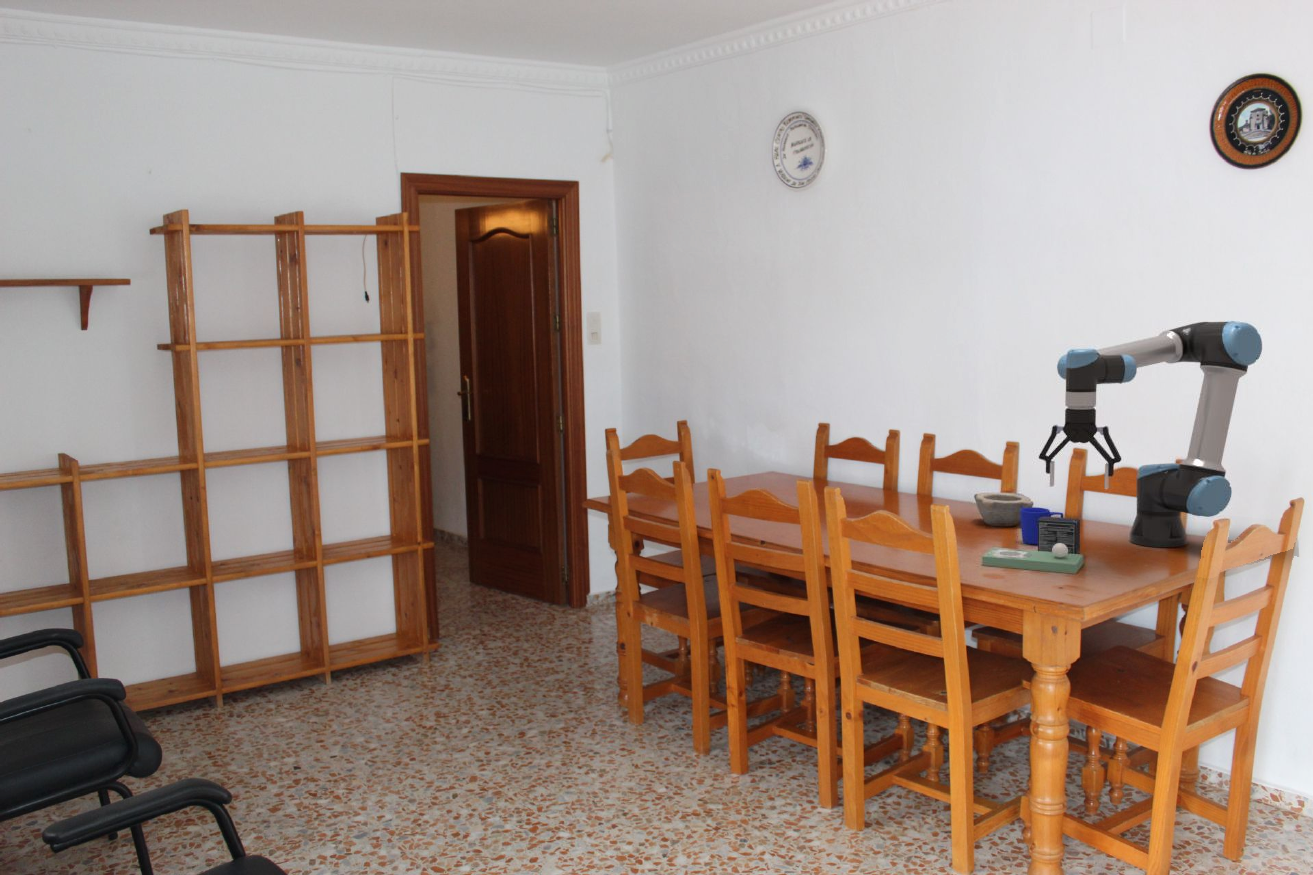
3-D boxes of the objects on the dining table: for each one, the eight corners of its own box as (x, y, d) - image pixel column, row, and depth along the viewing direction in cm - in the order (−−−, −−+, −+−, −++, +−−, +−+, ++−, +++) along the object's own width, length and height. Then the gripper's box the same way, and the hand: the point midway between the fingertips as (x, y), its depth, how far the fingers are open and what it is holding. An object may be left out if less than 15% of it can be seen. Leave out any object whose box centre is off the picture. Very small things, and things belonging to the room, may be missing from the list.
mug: (1065, 546, 306) (1065, 512, 304) (1021, 545, 308) (1022, 512, 307) (1060, 540, 314) (1060, 507, 312) (1018, 539, 316) (1018, 507, 315)
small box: (1080, 554, 295) (1081, 517, 294) (1076, 559, 290) (1077, 522, 289) (1041, 551, 301) (1041, 515, 300) (1036, 556, 295) (1037, 519, 294)
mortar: (1035, 529, 330) (1036, 500, 329) (980, 529, 332) (980, 500, 331) (1024, 519, 346) (1024, 491, 345) (971, 519, 349) (971, 491, 348)
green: (1083, 563, 285) (1083, 554, 284) (1075, 573, 274) (1075, 564, 274) (992, 555, 297) (992, 547, 297) (982, 565, 287) (982, 556, 286)
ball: (1069, 556, 283) (1069, 542, 282) (1066, 560, 279) (1066, 545, 279) (1053, 555, 285) (1053, 541, 284) (1050, 558, 281) (1050, 544, 281)
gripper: (1133, 407, 275) (1131, 487, 277) (1033, 405, 286) (1032, 482, 289) (1131, 409, 268) (1129, 491, 270) (1028, 408, 280) (1027, 486, 282)
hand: (1078, 487), depth 280 cm, fingers open, 13 cm apart
